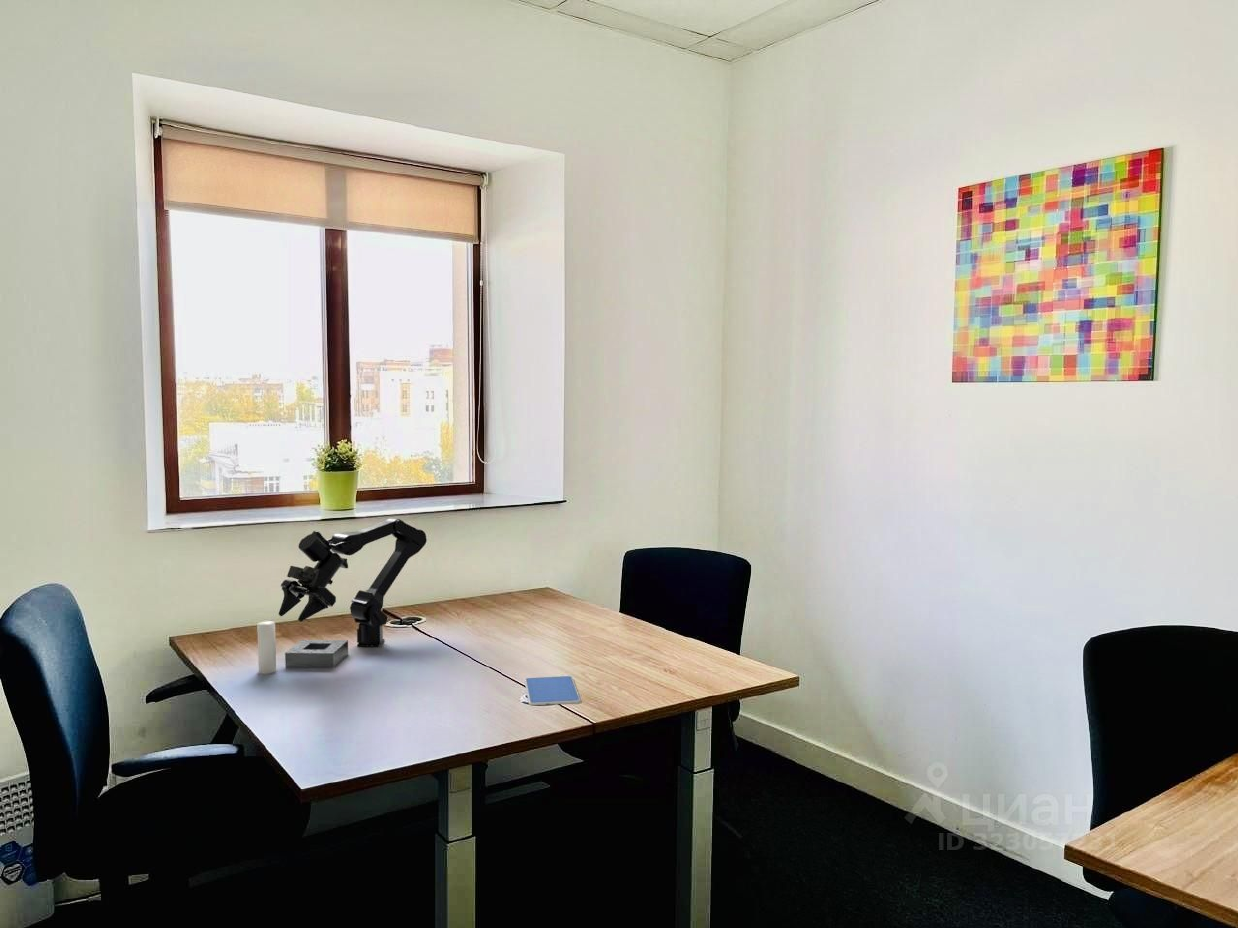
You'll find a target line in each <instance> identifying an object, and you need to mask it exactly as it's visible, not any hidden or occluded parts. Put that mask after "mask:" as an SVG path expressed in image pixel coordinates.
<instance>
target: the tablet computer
mask: <svg viewBox="0 0 1238 928" xmlns="http://www.w3.org/2000/svg"><path fill="white" fill-rule="evenodd" d="M575 683H576V682H575V681H574V678H573V676H572V675H571V676H570V675H562V676H545V677H544V676H543V677H542V676H541V677H540V676H538V677H526V678H525V679H524V684H525V691H526V695H527V701H528V705H529V706H545V705H547V706H548V705H563V704H565V705H568V704H570V705H571V704H580V703H581V702H582V699H581V697H580V694H579V693H578V689H577V686H576V684H575Z"/></svg>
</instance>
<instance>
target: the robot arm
mask: <svg viewBox="0 0 1238 928" xmlns="http://www.w3.org/2000/svg"><path fill="white" fill-rule="evenodd" d="M390 535H392V536H393V537H394V538H395V539H396V540H395V543H394V544H395V545H394V551H393V553H392V554H391V555H390V557H388V560H387V561H386V563H385V564H384V565H383V567H382V569H381V571H380V572H379V574H378V575H377V576H376V578H375V579H374V581H373V582H372V584H371V585H370V586H369V588H368V589H366V590H361V589H360V590H358V592H357V593H356V595H355V597H354V598H353V599H352V600H350V601H351V604H350V607H349V609H350V615H351V616H352V617H353V620H354V622H355V624H358V628H357V629H356V641H357V644H356V647H380V646H381V645H382V644H383V643H384V642H385V641H386V640H385V639H384V637H383V636H384V635H383V634H384V633H383V632H384V631H383V627H384V626H383V625H386V624H387V621H388V619H389V618H388V616H387V615H386V614H385V613H384V612H383V611H382V610H383V607H384V597H385V596H386V595H387V592H388V591H389V589H390V588H391V586H392V585H393V584H394V582H395V580H396V579H397V578H398V576H399V574H400V573H401V571H402V570H403V569H404V567H405V566H406V564H407V562H408V560H409V559H410V558H412V557H413V556H415V555H417V554H418V553H419V552H420V551H421V550H422V549H423V548H424V547H425V546H426V543H427V535H426V532H425V530H422V529H419V528H416V527H414V526H412V525H410V524H407V523H406V522H404V521H403V520H402V519H399V518H393V517H390V518H388V519H386V520H384V521H381V522H378V523H376V524H373V525H371V526H368V527H365V528H363V529H359V530H356V531H347V532H346V531H345V532H339V533H334V534H333V535H332V536H331V538H328V539H327V538H325V537H324V536H323V535H322V533H321V532H320V531H318V530H313V531H312V533H310V534H308V535H306V536H305V537H303V538H302V539H301V540H300V541H299V543H298V546H297V547H298V549H299V551H301V552H302V553H303V554H304V555H305V556H306V557H307V558H308V559H309V560H310V561H312V562H314V563H315V562H316V564H315V566H314V567H313V566H312V567H311V566H307V565H306V566H304V567H303V568H302V567H299V566H295V565H290V566H289V569H288V572H287V575H286V577H287V579H284V580H283V581H282V582H281V584H280V587H281V590H282V591H283V600H282V603H281V605H280V608H279V611H278V616H280V617H283V616H284V615H286V614H287V613H289V612H290V611H291V610H292V609H293V608H294V607H296V606H297V605H298V604H299V603H300V602H301V601H302V600H301V599H303V598H304V597H305V596H308V602H307V603H306V604H305V606H304V607H303V609H302V611H301V612H300V614H299V616H298V618H297V620H298V622H301V623H302V622H303V621H305V620H306V619H308V618H311V617H313V615H316V614H317V613H319V612H321V611H323V610H325V609H328V608H329V607H330V608H333V606H334V605H335V603H337V596H335V594H334V593H333V592H331V591H330V590H329V589H328V588H327V585H330V586H331V585H332V584H333V582H334V581H333V577H334V576H335V575H336V573H337V572H338V571H339V569H340V568H342V569H349V563H348V559H347V558H345V557H342V556H340V555H345V556H353V555H355V554H356V553H358V552H359V551H361V550H362V548H363V547H364V546H366V545H367V544H370V543H372V542H375V541H378V540H380V539H382V538H385V537H388V536H390ZM290 578H292V579H290ZM296 580H297V581H296Z"/></svg>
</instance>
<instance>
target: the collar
mask: <svg viewBox="0 0 1238 928" xmlns="http://www.w3.org/2000/svg"><path fill="white" fill-rule="evenodd" d="M348 655H349V640H346V639H342V640H340V639H339V640H338V639H302V640H300V641H299V642H297V643H296V644H295V645H294V646H292V647H291V648H290V649H287V651H286V652H285V653H284V659H285V661H284V663H285V668H290V669H291V668H294V669H296V668H297V669H298V668H300V669H301V668H303V669H305V668H307V669H309V668H310V669H311V668H312V669H315V668H316V669H319V668H320V669H334V668H336V666H337V665H338V664H339V663H340V662H342V661H343V660H344V658H346V657H347V656H348Z"/></svg>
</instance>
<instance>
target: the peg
mask: <svg viewBox="0 0 1238 928" xmlns="http://www.w3.org/2000/svg"><path fill="white" fill-rule="evenodd" d="M256 626H257V628H256V629H257V657H258V658H257V659H258V661H257V662H258V664H257V665H258V674H261V675H269V674H273V673H276V672H277V646H276V644H277V643H276V622H275V621H272V620H271V621H270V620H269V621H261V622H258V623H257V624H256Z"/></svg>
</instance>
